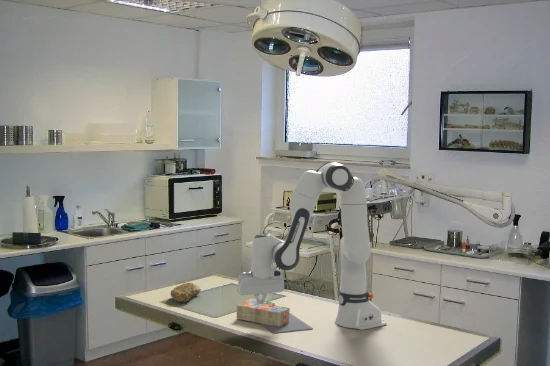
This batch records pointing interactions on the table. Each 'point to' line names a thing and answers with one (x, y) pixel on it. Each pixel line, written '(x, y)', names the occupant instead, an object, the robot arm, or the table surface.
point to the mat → (289, 326)
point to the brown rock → (185, 292)
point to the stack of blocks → (263, 313)
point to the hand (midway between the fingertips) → (260, 303)
